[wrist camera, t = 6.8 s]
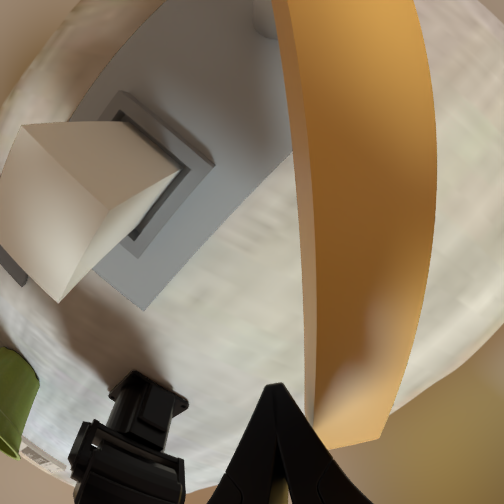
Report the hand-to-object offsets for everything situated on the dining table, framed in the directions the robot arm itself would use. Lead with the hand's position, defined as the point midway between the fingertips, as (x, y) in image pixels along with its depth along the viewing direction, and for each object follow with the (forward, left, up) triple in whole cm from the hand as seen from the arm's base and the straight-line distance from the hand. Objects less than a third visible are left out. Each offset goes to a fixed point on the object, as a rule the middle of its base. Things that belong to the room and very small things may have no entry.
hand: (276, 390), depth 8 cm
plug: (-1, +9, -10) cm, 14 cm away
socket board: (+2, +9, -11) cm, 15 cm away
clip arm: (+6, +4, -1) cm, 7 cm away
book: (-72, +7, -12) cm, 74 cm away
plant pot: (-32, +11, -11) cm, 36 cm away
